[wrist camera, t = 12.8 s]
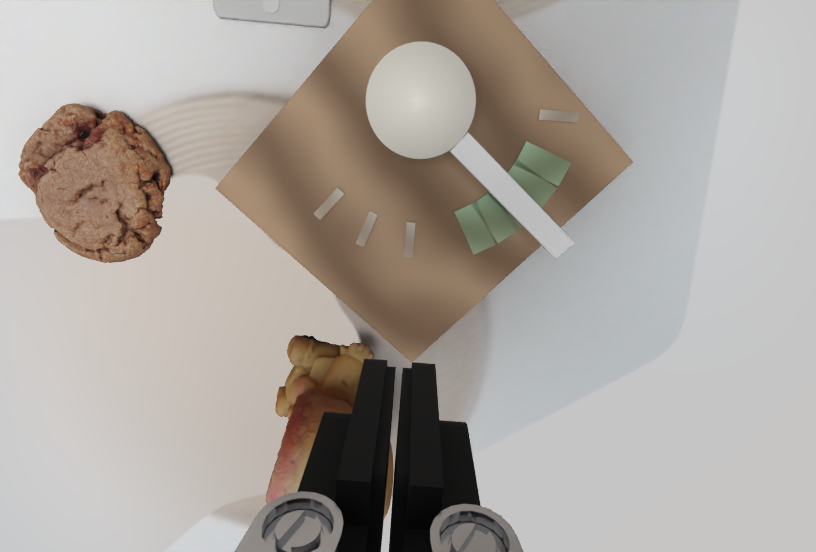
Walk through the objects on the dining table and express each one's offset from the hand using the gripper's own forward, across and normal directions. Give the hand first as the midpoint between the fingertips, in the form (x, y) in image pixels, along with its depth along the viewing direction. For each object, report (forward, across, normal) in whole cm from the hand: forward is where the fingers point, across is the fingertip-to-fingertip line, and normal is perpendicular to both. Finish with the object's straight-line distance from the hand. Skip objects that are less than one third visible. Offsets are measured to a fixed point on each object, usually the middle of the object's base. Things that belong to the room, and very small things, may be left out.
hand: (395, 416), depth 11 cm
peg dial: (+21, -3, -5) cm, 21 cm away
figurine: (+23, +4, +13) cm, 27 cm away
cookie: (+24, +21, -1) cm, 32 cm away
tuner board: (+23, 0, -4) cm, 23 cm away
